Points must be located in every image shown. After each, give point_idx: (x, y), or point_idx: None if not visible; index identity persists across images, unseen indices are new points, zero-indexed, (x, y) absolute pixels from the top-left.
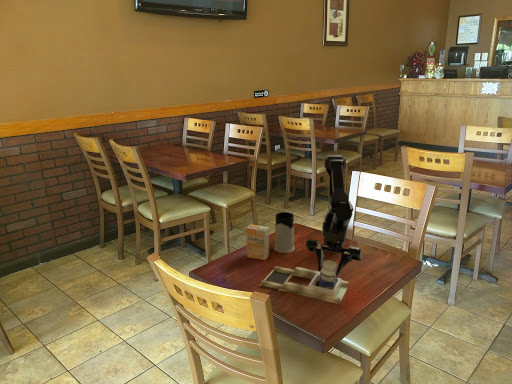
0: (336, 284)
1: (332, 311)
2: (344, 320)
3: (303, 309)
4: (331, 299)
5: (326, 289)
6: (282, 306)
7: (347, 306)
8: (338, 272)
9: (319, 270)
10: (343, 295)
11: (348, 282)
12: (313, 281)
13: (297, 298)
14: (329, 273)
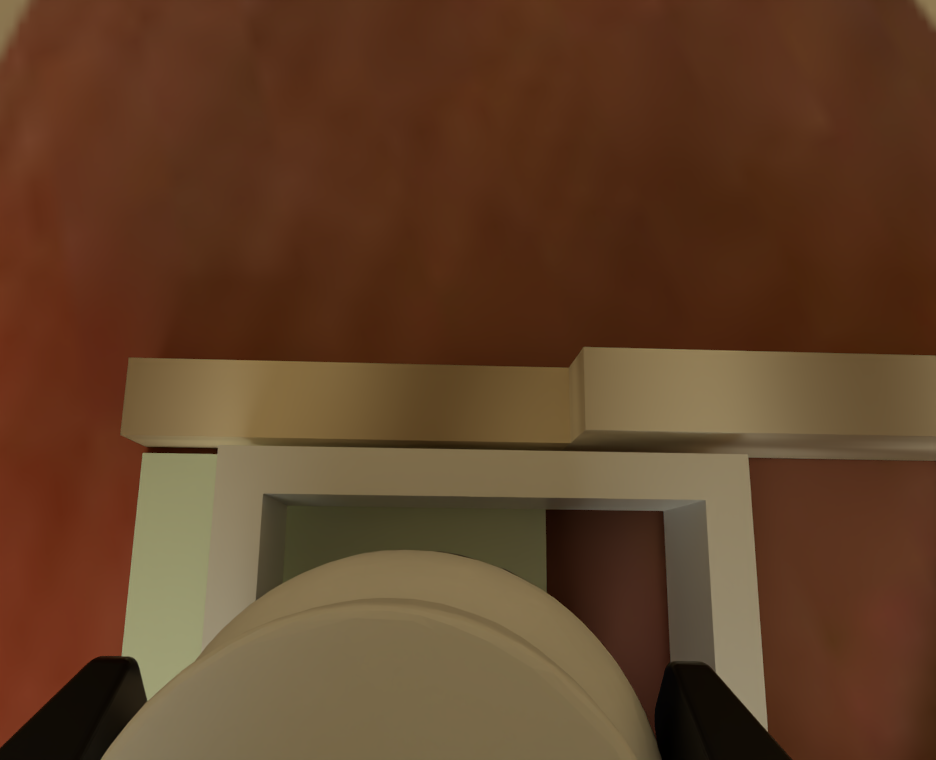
0: None
1: (217, 177)
2: (27, 50)
3: (595, 82)
4: (270, 366)
5: (382, 459)
6: (863, 47)
7: (24, 376)
8: (36, 723)
9: (678, 665)
10: (122, 649)
11: None
12: (713, 659)
13: (773, 290)
14: (329, 582)
